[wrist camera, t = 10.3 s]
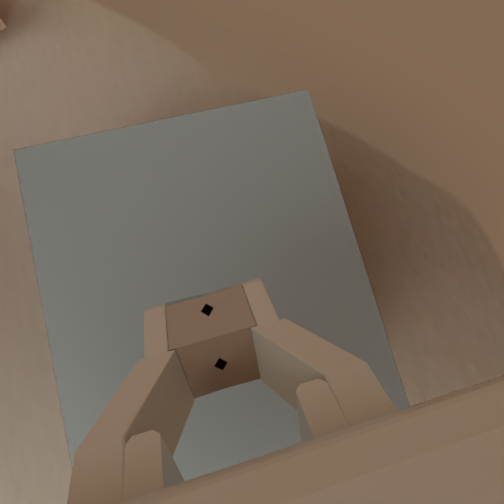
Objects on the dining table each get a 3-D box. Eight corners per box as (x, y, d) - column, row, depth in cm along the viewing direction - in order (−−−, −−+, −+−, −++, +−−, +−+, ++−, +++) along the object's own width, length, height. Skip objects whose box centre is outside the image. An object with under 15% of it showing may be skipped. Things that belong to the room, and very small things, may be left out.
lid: (403, 409, 18) (411, 413, 17) (88, 510, 16) (81, 521, 15) (305, 98, 20) (308, 89, 19) (22, 157, 18) (13, 149, 17)
